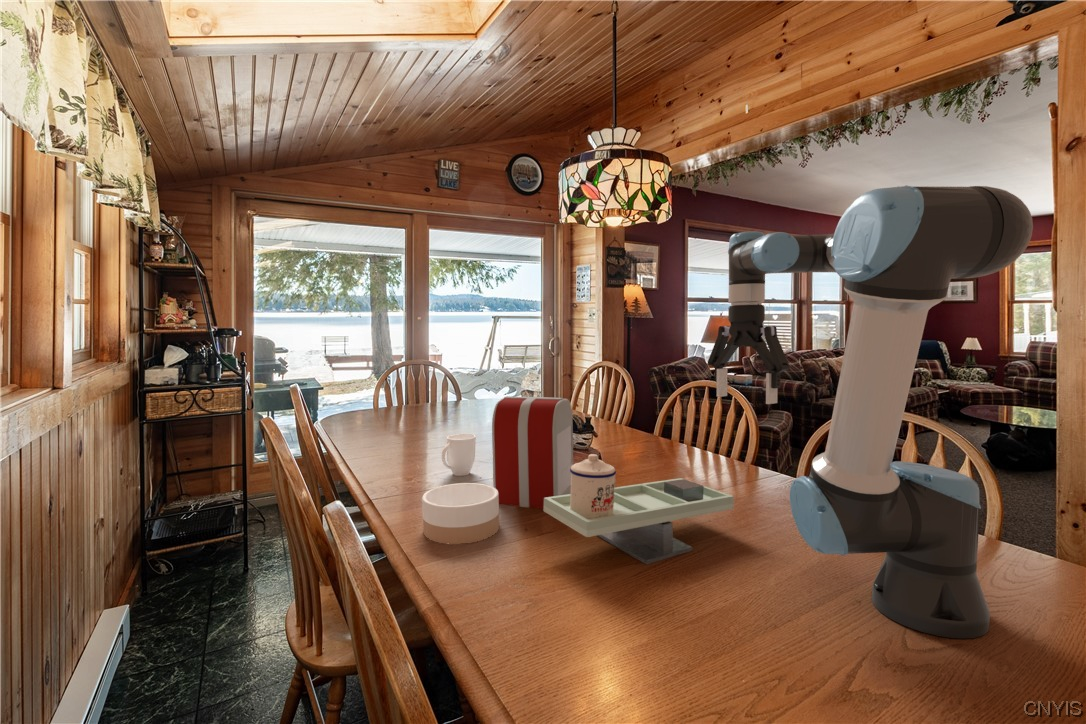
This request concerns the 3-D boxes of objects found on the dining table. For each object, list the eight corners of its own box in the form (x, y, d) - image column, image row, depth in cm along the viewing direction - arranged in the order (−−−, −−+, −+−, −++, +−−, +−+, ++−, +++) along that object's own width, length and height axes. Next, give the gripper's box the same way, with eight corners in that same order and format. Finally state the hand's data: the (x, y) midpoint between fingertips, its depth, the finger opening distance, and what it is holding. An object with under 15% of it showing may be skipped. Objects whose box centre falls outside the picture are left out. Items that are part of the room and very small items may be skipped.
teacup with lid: (596, 523, 101) (598, 462, 101) (559, 512, 108) (561, 454, 107) (631, 509, 110) (633, 453, 110) (595, 499, 116) (597, 446, 116)
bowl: (408, 531, 123) (406, 495, 122) (467, 511, 136) (466, 478, 135) (455, 552, 111) (453, 512, 111) (514, 527, 124) (514, 492, 123)
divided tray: (733, 508, 116) (733, 496, 116) (586, 537, 98) (587, 522, 98) (680, 489, 130) (681, 478, 130) (543, 511, 112) (543, 497, 112)
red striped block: (557, 510, 135) (555, 403, 133) (492, 503, 140) (489, 401, 138) (574, 490, 150) (573, 394, 148) (515, 485, 156) (513, 392, 154)
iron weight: (703, 499, 119) (703, 485, 119) (682, 502, 116) (683, 489, 116) (683, 492, 124) (684, 479, 124) (663, 495, 121) (664, 482, 121)
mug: (462, 468, 175) (462, 431, 174) (481, 473, 169) (481, 435, 168) (434, 476, 166) (433, 438, 164) (453, 482, 160) (453, 442, 159)
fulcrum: (692, 550, 110) (692, 519, 109) (646, 564, 104) (646, 531, 103) (635, 522, 125) (635, 494, 125) (593, 533, 119) (592, 504, 119)
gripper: (809, 302, 110) (807, 405, 112) (715, 306, 132) (714, 392, 133) (785, 302, 106) (783, 408, 108) (692, 306, 128) (692, 394, 130)
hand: (745, 399), depth 121 cm, fingers open, 13 cm apart
